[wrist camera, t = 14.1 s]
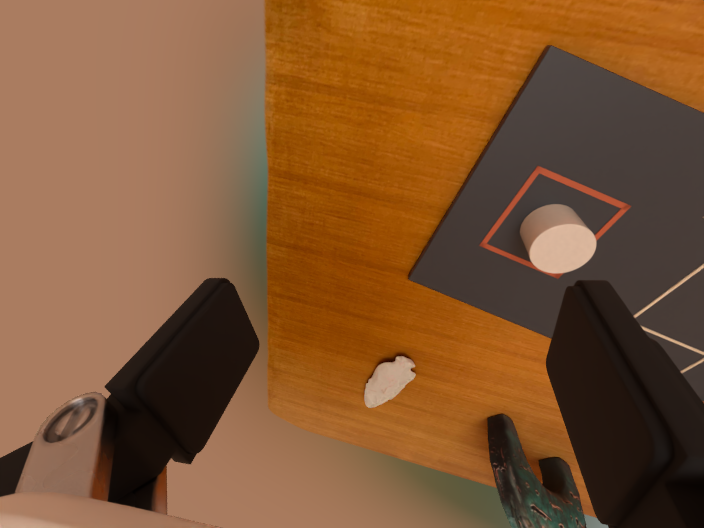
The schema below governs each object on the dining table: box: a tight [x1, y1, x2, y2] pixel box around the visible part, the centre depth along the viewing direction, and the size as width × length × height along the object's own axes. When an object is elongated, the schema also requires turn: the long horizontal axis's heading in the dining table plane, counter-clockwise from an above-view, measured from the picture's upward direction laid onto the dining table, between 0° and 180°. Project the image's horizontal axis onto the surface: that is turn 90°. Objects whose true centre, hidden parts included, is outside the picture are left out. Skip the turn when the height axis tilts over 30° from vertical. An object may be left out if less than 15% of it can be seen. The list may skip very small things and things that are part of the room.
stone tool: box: [364, 356, 415, 408], centre depth 50 cm, size 6×2×15 cm
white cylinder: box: [520, 204, 597, 273], centre depth 29 cm, size 5×5×4 cm
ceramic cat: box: [488, 414, 586, 528], centre depth 45 cm, size 20×6×20 cm, turn 49°
